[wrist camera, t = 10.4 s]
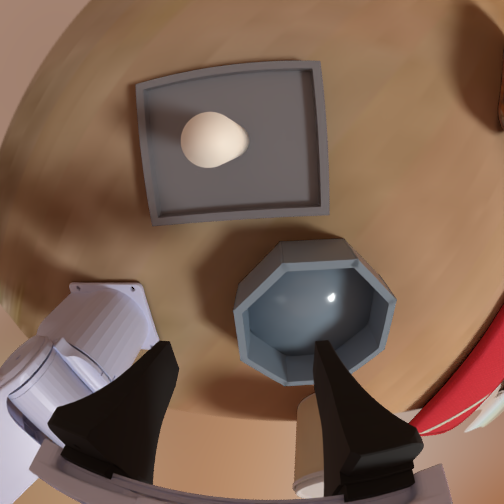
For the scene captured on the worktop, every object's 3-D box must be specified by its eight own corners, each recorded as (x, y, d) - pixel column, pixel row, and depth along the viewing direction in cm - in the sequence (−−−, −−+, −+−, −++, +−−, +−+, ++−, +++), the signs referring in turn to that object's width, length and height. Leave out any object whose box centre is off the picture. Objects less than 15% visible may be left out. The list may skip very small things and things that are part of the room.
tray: (159, 220, 21) (152, 226, 20) (144, 87, 17) (135, 84, 16) (325, 209, 20) (329, 215, 19) (316, 66, 16) (320, 60, 14)
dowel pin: (215, 160, 18) (183, 171, 11) (212, 125, 17) (178, 116, 10) (250, 156, 18) (240, 165, 11) (247, 121, 17) (234, 108, 10)
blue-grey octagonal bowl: (247, 357, 26) (244, 387, 23) (233, 243, 22) (226, 265, 18) (366, 349, 25) (376, 376, 21) (384, 236, 20) (404, 255, 17)
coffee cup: (283, 423, 31) (283, 500, 20) (301, 381, 27) (308, 478, 16) (347, 423, 31) (359, 495, 20) (375, 383, 27) (399, 466, 16)
